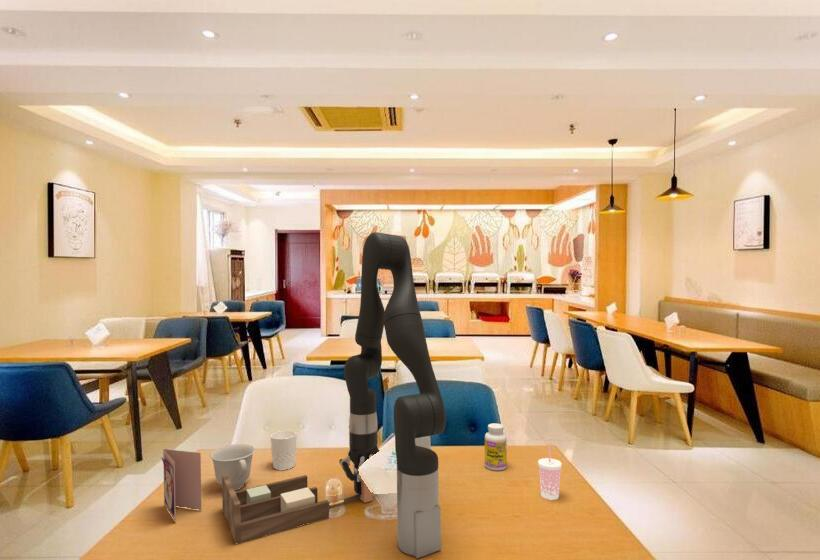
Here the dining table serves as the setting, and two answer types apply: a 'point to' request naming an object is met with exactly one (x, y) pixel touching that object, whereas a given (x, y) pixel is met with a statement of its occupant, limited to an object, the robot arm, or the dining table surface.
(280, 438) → the white cup
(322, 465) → the dining table surface
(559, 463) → the beverage cup
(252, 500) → the sage block
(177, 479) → the greeting card
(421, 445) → the skincare box
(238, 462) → the teacup
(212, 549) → the dining table surface
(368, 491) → the cream long block
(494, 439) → the supplement bottle
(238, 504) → the lane rack
